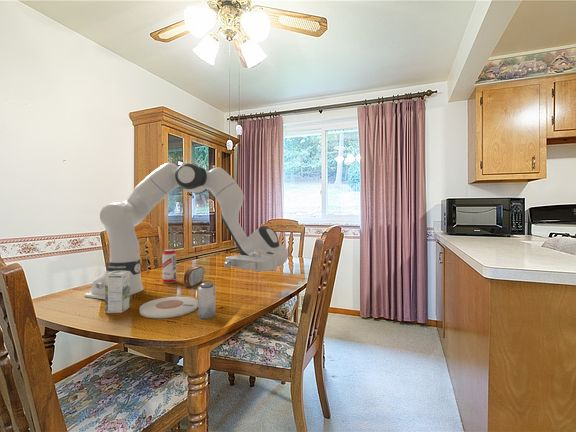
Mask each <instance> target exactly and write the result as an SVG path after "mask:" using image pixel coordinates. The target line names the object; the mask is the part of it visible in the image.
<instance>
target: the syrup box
mask: <svg viewBox="0 0 576 432" xmlns="http://www.w3.org/2000/svg"><path fill="white" fill-rule="evenodd" d="M130 299H131V295H130V271H123V270H119V271H113V272H110V273H108V274H106V275H105V299H104V301H105V302H104V307H105V308H104V309H105V311H104V313H105V314H115V313H118V314H120V313H124V312H125V311H127V310H128V309H129V308H131V305H130V304H131V301H130Z"/></svg>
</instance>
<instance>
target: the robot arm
mask: <svg viewBox="0 0 576 432" xmlns="http://www.w3.org/2000/svg"><path fill="white" fill-rule="evenodd" d="M179 187H180V188H182V189H184V190H185V191H187V192H189V193H192V194H198V195H199V194H204V193H205V192H207V190H208V191H209V192H211V194H212V195H213V197H214V198H215V199H216V201H217V202H218V205H219V207H220V214H221V216H220V217H221V218H222V222H224V224H225V226H226V228H227V230H228V232H229V234H230V236H231V237H232V239H233V241H234V243H235V245H236V247H237V250H238V253H239V254H236V255H230V256H226V257H225V261H224V262H223V267H224V268H229V267H230V268H240V269H242V270H245V271H248V270H251V271H254V272H257V273H260V272H272V271H277V269H278V268H277V267H280V266H282V265H284V264H285V263H286V261H287V260H288V258H289V251H288V249H287V248H286V246H284V245H282V244H281V243H280V242H279V237H278V235H277V233H276V232H275V230H274V229H273V228H271V227H269V226H267V225H260V226H259V227H258V228H257V229H255V230H254V231H253V232H252V233H251V234H249V235H248V236H247V235H246V233H245V231H244V229H243V227H242V226H241V223H240V222H239V214H240V211H241V208H242V206H243V203H244V197H245V196H244V191H243V190H242V189H241V187H240V186H239V184H238V183H237V182H236V180H235V179H234V178H233V177H232V176H231V175H230V174H229V173H228V172H227V171H226V170H225V169H224V168H222V167H219V166H218V167H213V168H211V169H210V170H207V171H206V168H203V167H200V166H198V165H196V164H193V163H188V162H187V163H183V164H181V165H179V166H178V165H176V164H175V163H173V162H166V163H164V164H162V165H160V166H159V167H157V168H155V170H153V171H152V172H151V173H150V174H148V175H147V176H146V177H145V178H144V179H142V180H141V181H140V182H139V183H138V184H137V185H136V186H135V187H134V188H133V190H132V192H131V194H129V196H128V197H127V198H126V199H125V200H124V201H115V202H111V203H108V204H106V205H105V206H103V207H102V208H101V210H100V212H99V219H100V222H101V224H102V225H103V226H104V228H105V232H106V234H107V239H108V246H109V262H107V263H105V264H104V265H103V267H106V269H105V271H104V272H102V273H101V274H100V275H98V276H97V277H96V278H95V279H93V280H92V283H91V290H90V291H87V292H85V293H84V297H86V298H90V299H91V298H92V299H98V300H99V299H100V300H105V275H106V274H108V273H110V272H113V271H119V270H123V271H130V296H132V295H134V294H136V293H139V292H142V291H143V290H144V287H143V283H142V277H141V266H142V265H141V263H142V262H141V259H140V241H139V239H138V237H137V233H136V229H135V227H136V226H138V225H140V224H141V223H142V222H143V221H144V219H145V218H146V217H147V216H148V215H149V214H150V213H151V212H152V211H153V209H154V208H155V207H156V206H157V205H158V204H159V203H160V202H161V201H163V200H164V199H165V198H166V197H167V196H168V195H169V194H171V192H172V191H174V190H175V189H177V188H179Z"/></svg>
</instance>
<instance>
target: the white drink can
mask: <svg viewBox="0 0 576 432" xmlns="http://www.w3.org/2000/svg"><path fill="white" fill-rule="evenodd" d="M197 301H198V307H197V318H198V319H201V320H211V319H213V318H215V317H216V285H215V284H214V283H213V282H211V281H204V282H200V283H199V286H197Z"/></svg>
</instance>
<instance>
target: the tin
mask: <svg viewBox="0 0 576 432" xmlns="http://www.w3.org/2000/svg"><path fill="white" fill-rule="evenodd" d="M204 273H205V271H204V267H203V266H201V265H195V266H191V267H189V268H187V269H186V271H185V273H184V276H183V285H184V286H185V287H190V288H191V287H194V286H196V285H199V284H200V283H202V281H203V279H204Z"/></svg>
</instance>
